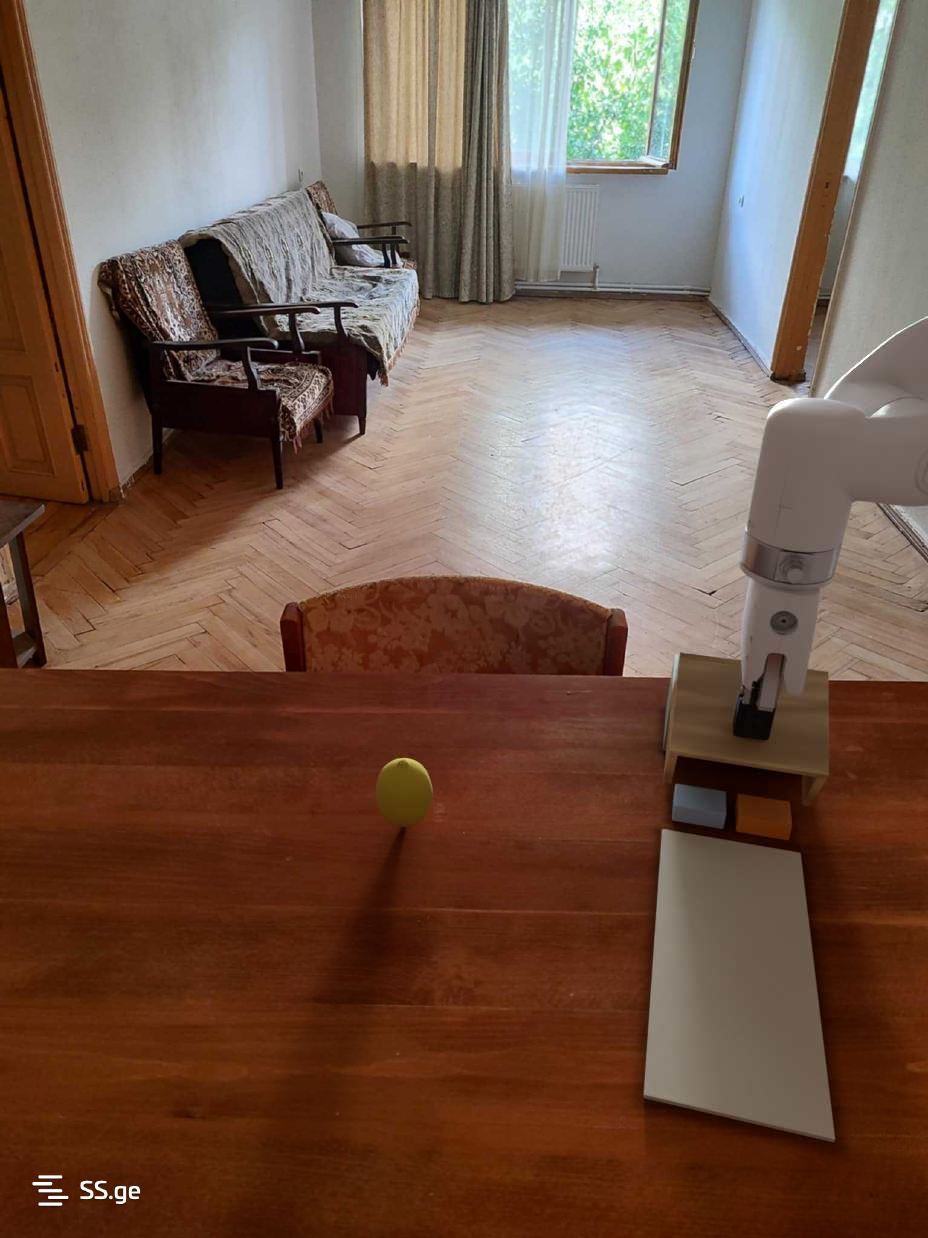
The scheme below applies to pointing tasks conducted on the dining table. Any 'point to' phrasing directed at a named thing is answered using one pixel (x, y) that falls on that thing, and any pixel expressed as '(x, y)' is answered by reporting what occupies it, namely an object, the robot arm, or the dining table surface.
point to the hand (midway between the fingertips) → (750, 733)
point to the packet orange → (763, 816)
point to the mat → (736, 988)
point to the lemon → (403, 792)
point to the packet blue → (699, 806)
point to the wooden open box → (708, 735)
